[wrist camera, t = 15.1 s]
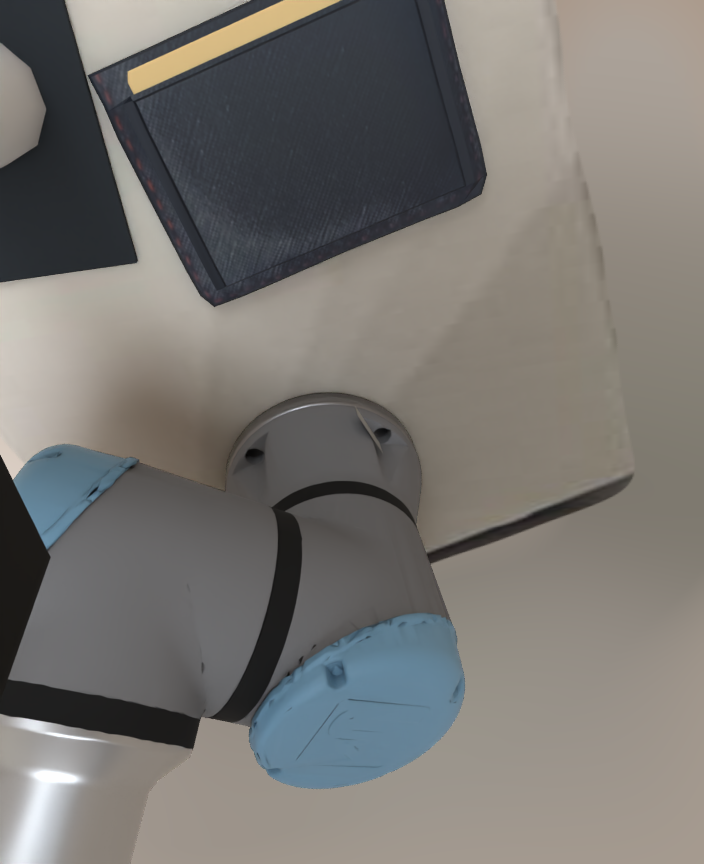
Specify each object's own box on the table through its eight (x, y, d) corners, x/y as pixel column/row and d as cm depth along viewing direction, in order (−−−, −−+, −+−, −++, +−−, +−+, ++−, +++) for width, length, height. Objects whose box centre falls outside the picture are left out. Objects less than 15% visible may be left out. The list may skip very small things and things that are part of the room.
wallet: (203, 317, 43) (75, 64, 35) (205, 306, 45) (82, 61, 37) (498, 204, 42) (437, -86, 34) (489, 197, 44) (428, -82, 35)
